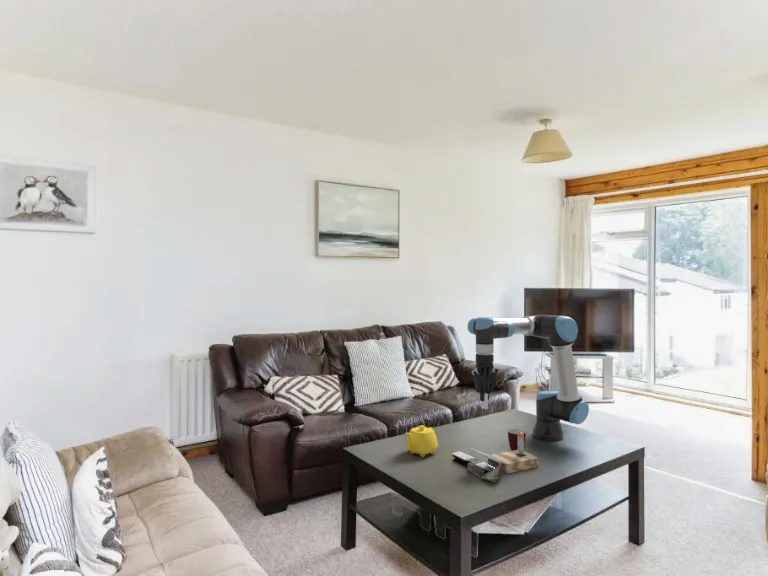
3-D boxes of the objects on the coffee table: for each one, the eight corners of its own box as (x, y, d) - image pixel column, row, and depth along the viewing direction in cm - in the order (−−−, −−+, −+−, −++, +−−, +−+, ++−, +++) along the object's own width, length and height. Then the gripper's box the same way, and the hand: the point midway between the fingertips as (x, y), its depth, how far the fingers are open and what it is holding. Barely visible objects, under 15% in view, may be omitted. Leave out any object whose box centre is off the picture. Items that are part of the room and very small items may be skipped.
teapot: (445, 452, 236) (444, 425, 236) (416, 463, 222) (416, 434, 222) (423, 444, 246) (423, 419, 246) (394, 455, 232) (394, 428, 232)
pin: (521, 462, 222) (521, 431, 222) (524, 464, 220) (525, 432, 220) (516, 463, 221) (516, 432, 221) (520, 465, 219) (520, 433, 218)
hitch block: (519, 457, 228) (519, 449, 228) (538, 466, 217) (538, 457, 217) (465, 468, 215) (465, 459, 215) (482, 478, 205) (482, 469, 204)
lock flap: (490, 455, 220) (469, 446, 215) (504, 462, 211) (483, 453, 206) (489, 457, 219) (468, 448, 215) (503, 465, 210) (481, 456, 205)
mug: (532, 456, 230) (532, 434, 230) (517, 458, 227) (517, 436, 227) (518, 448, 240) (518, 428, 239) (504, 450, 237) (504, 429, 237)
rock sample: (479, 464, 210) (493, 455, 205) (493, 475, 210) (507, 466, 205) (475, 483, 202) (489, 474, 197) (489, 495, 202) (504, 486, 197)
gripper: (491, 351, 220) (491, 404, 220) (466, 353, 214) (466, 408, 215) (502, 353, 213) (502, 408, 213) (477, 355, 207) (477, 412, 208)
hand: (484, 408), depth 214 cm, fingers closed
